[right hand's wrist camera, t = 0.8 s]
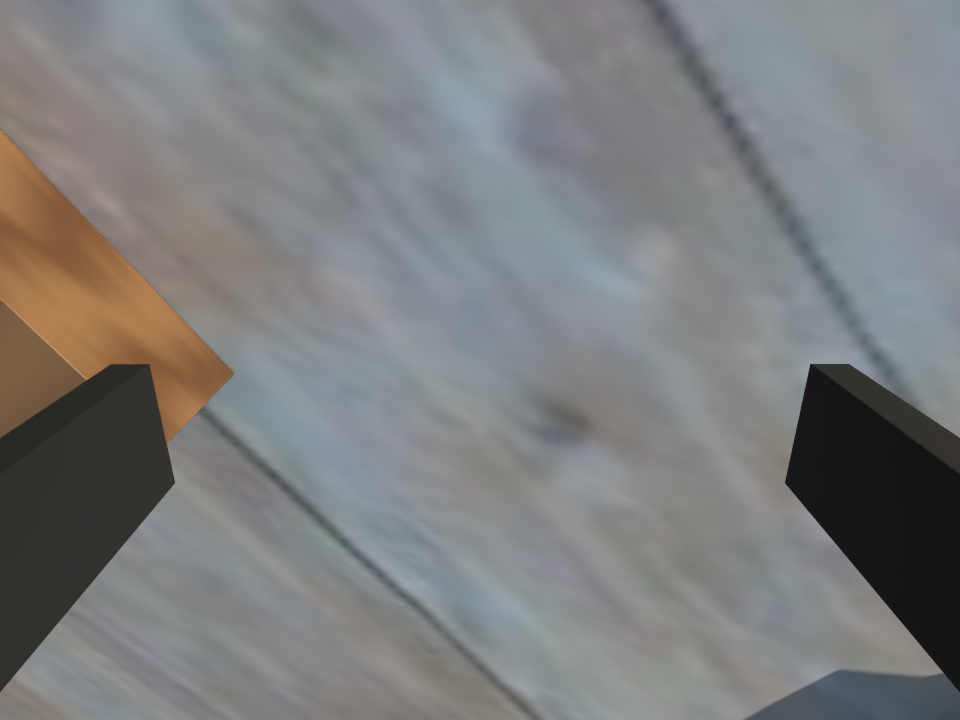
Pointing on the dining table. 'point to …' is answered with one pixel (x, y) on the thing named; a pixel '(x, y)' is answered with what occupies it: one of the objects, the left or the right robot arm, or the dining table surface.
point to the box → (82, 309)
